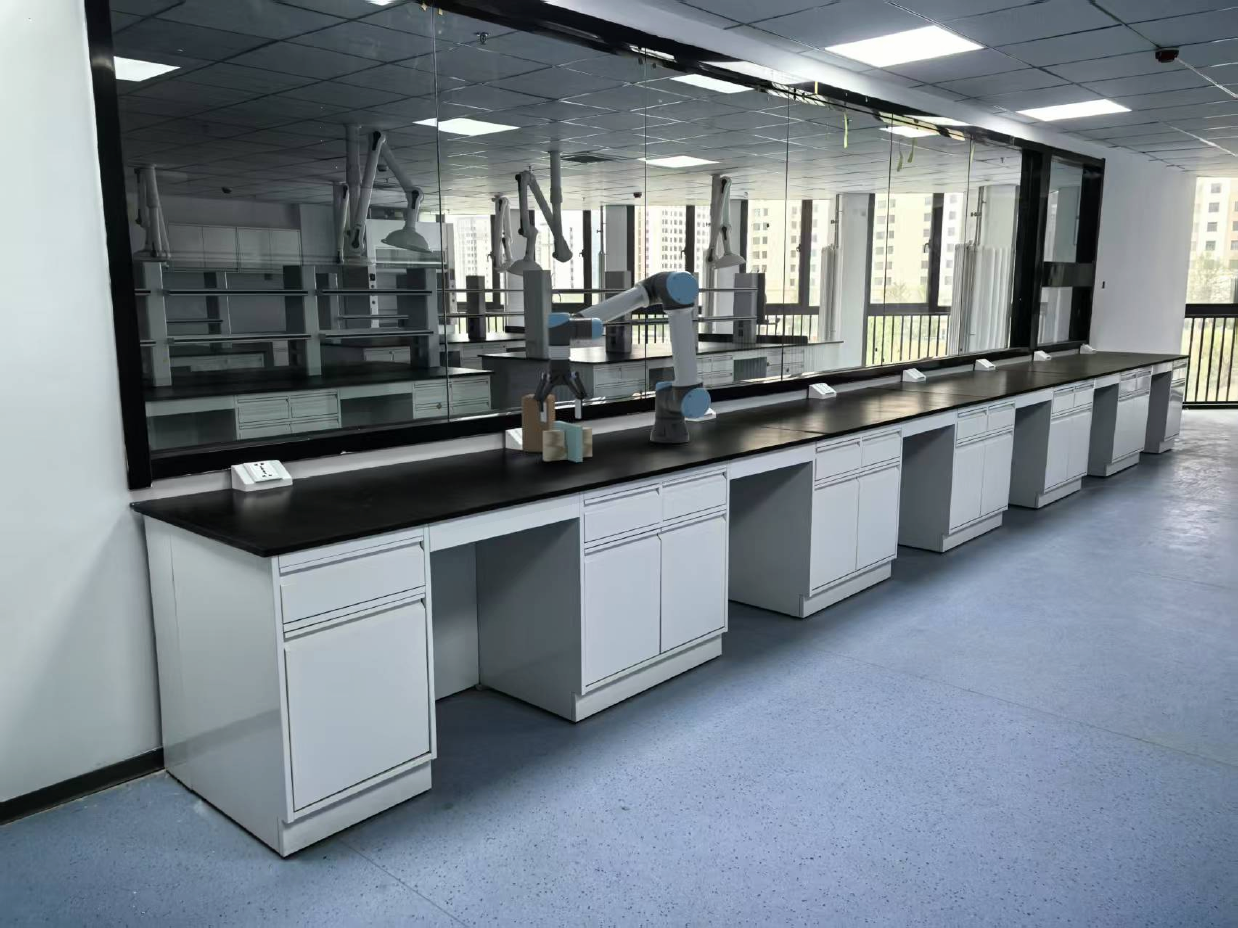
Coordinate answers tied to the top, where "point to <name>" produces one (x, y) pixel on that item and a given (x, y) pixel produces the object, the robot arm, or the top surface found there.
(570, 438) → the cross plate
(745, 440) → the top surface
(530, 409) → the wooden block
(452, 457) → the top surface
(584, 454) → the beige patterned panel
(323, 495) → the top surface
